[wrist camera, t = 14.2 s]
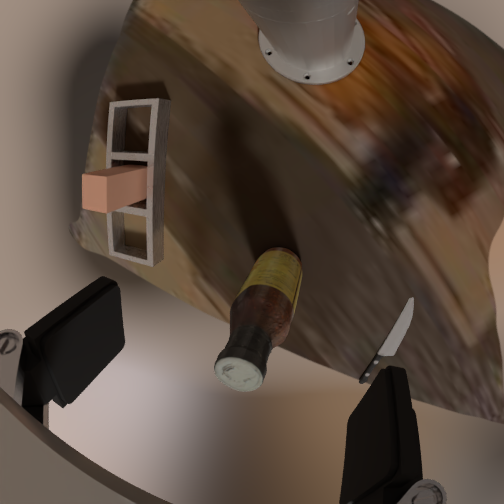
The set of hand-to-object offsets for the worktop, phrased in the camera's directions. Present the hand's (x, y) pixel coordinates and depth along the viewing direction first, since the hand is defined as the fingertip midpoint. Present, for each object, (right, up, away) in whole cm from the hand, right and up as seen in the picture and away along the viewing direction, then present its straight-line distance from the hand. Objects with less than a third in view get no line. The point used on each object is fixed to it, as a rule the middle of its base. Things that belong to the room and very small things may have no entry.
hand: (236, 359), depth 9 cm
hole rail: (-16, +14, +31) cm, 37 cm away
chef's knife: (+22, -10, +30) cm, 38 cm away
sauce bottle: (+4, +1, +30) cm, 30 cm away
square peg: (-16, +14, +31) cm, 37 cm away
